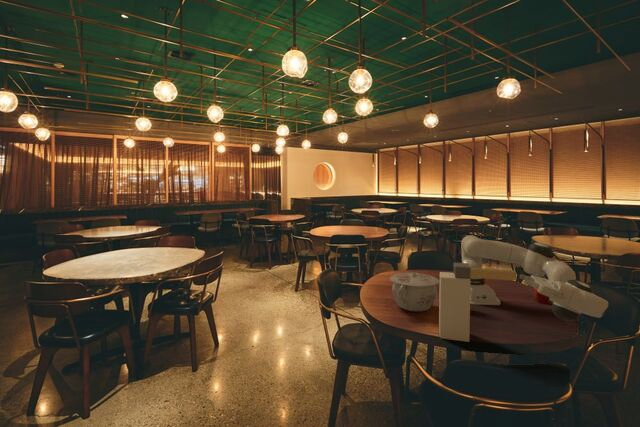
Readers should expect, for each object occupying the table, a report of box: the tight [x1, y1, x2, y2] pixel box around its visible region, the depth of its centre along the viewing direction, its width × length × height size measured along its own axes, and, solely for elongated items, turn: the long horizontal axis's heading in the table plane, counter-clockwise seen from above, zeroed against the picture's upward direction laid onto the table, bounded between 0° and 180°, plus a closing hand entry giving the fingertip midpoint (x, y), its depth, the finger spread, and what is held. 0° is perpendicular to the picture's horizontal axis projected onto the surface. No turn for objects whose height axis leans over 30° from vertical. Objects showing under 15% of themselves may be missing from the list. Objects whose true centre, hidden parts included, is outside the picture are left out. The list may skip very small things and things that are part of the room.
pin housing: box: [438, 262, 471, 343], centre depth 140 cm, size 12×10×33 cm
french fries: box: [533, 277, 550, 304], centre depth 183 cm, size 9×8×15 cm
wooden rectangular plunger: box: [470, 267, 517, 282], centre depth 135 cm, size 21×4×4 cm, turn 71°
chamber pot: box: [389, 271, 440, 313], centre depth 175 cm, size 28×28×21 cm
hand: (522, 278), depth 133 cm, fingers open, 8 cm apart
